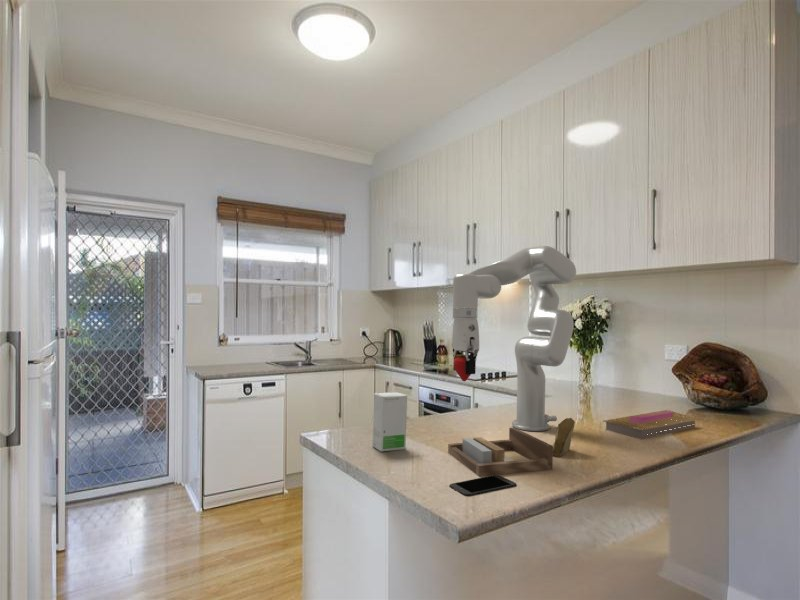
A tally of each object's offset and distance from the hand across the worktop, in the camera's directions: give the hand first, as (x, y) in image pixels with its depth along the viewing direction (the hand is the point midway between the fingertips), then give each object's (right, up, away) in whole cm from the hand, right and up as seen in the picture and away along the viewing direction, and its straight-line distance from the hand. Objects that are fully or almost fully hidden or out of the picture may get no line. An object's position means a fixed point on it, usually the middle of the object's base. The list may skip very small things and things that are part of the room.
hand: (464, 371), depth 142 cm
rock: (+26, -22, -7) cm, 35 cm away
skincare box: (-23, -21, -7) cm, 32 cm away
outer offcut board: (+1, -21, -19) cm, 28 cm away
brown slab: (+69, -24, +23) cm, 77 cm away
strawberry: (0, -3, 0) cm, 3 cm away
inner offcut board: (+4, -22, -17) cm, 28 cm away
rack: (+7, -21, -17) cm, 28 cm away
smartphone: (0, -22, -35) cm, 41 cm away
